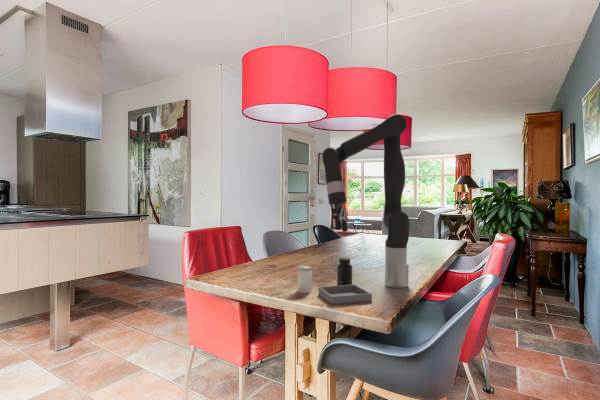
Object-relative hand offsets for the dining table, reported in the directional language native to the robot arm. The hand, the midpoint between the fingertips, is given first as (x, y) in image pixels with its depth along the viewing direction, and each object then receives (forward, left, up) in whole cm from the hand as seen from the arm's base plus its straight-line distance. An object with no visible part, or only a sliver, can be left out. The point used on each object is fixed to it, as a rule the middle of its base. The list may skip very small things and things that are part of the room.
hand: (342, 230), depth 144 cm
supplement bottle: (-4, -7, -25) cm, 27 cm away
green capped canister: (+16, -3, -25) cm, 30 cm away
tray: (+4, +10, -25) cm, 27 cm away
